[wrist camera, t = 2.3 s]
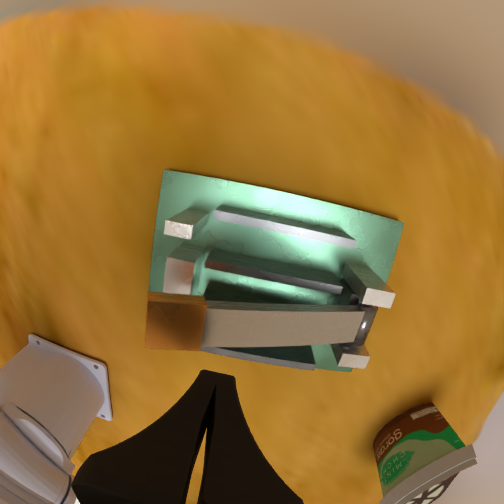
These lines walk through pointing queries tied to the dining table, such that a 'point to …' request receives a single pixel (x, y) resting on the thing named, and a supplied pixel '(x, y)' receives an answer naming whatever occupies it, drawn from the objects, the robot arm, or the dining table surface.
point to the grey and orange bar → (250, 323)
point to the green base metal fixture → (271, 257)
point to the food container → (419, 456)
